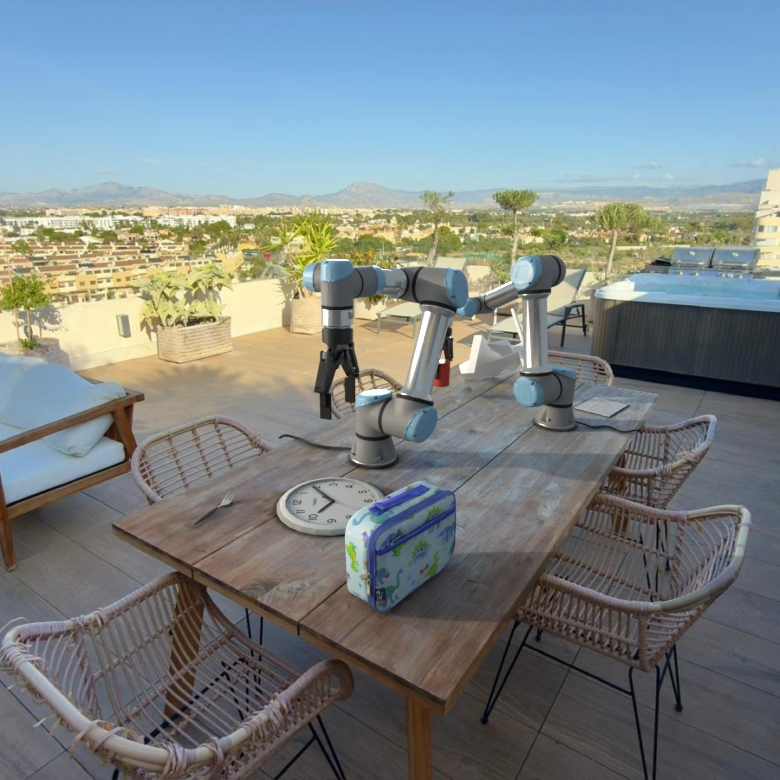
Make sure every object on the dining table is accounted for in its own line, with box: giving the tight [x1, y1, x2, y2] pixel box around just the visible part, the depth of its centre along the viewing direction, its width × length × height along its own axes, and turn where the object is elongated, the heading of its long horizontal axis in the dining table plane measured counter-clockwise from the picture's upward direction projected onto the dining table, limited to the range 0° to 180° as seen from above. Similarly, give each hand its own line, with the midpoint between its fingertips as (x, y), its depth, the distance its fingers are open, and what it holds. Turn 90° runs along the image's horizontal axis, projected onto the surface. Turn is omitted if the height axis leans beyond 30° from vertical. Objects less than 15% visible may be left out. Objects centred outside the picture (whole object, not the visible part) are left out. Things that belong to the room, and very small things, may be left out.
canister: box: [433, 358, 451, 388], centre depth 234 cm, size 8×8×11 cm
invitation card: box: [573, 396, 629, 418], centre depth 226 cm, size 21×1×15 cm
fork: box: [193, 490, 237, 526], centre depth 138 cm, size 3×16×2 cm, turn 160°
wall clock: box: [276, 476, 386, 537], centre depth 142 cm, size 30×2×30 cm
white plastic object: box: [458, 307, 524, 380], centre depth 255 cm, size 37×45×31 cm
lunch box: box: [344, 480, 457, 614], centre depth 109 cm, size 26×11×21 cm, turn 135°
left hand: (338, 410), depth 131 cm, fingers open, 13 cm apart
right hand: (441, 376), depth 234 cm, fingers closed on canister, 8 cm apart
